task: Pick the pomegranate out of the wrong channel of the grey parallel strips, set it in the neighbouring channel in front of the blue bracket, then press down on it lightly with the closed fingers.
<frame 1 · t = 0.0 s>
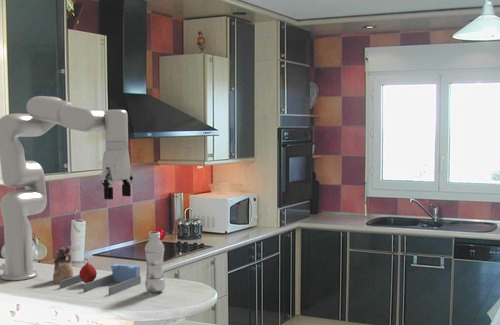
hand: (117, 197, 204), 31 cm above the counter, tool pointing down, fingers open, 9 cm apart
painted ceramic spouted vessel: (63, 281, 218), on the counter
grey parallel strips: (100, 285, 211), on the counter
plastic bottle: (155, 292, 202), on the counter
pomegranate: (88, 285, 212), on the counter
blue bracket: (126, 282, 215), on the counter
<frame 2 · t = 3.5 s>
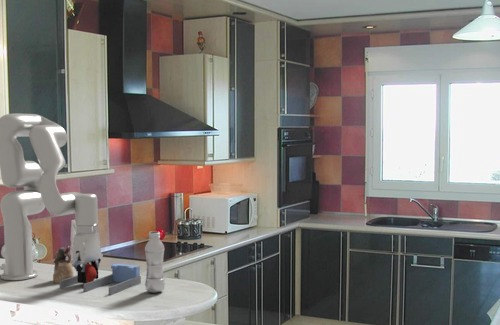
hand: (88, 280, 212), 2 cm above the counter, tool pointing down, fingers closed on pomegranate, 5 cm apart
pomegranate: (88, 285, 212), on the counter, touching gripper
everything else where it was.
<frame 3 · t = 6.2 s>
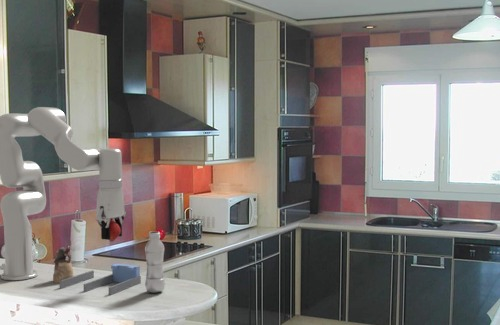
hand: (111, 237, 208), 17 cm above the counter, tool pointing down, fingers closed on pomegranate, 5 cm apart
pomegranate: (111, 242, 208), point 16 cm above the counter, touching gripper
everything else where it was.
when the fingers open (3 cm above the counter, at t = 9.3 s): pomegranate drops 1 cm, on the counter.
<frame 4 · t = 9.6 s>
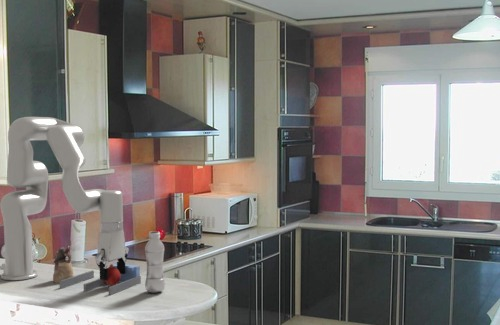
hand: (112, 276, 208), 4 cm above the counter, tool pointing down, fingers open, 9 cm apart
pomegranate: (112, 287, 209), on the counter
everything else where it was.
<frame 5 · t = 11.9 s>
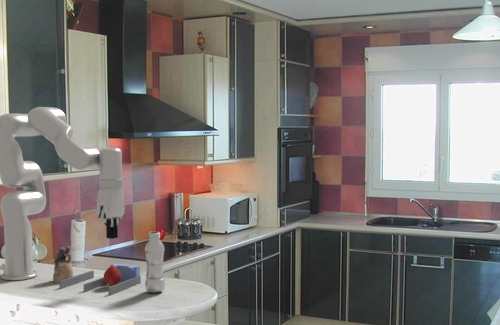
hand: (112, 237, 208), 17 cm above the counter, tool pointing down, fingers closed
nothing on the counter moved.
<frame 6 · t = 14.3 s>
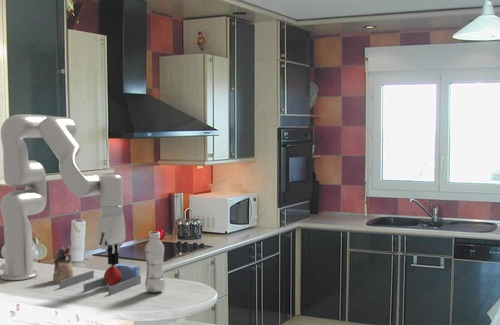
hand: (113, 264, 208), 8 cm above the counter, tool pointing down, fingers closed
pomegranate: (112, 287, 209), on the counter, touching gripper
everything else where it was.
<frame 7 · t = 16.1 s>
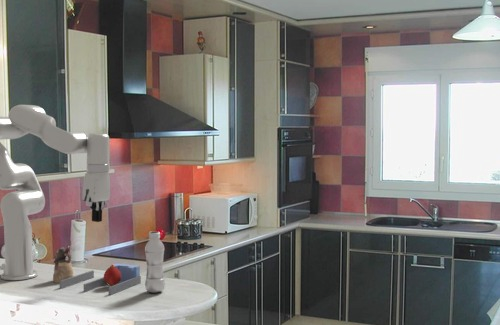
hand: (96, 221, 212), 22 cm above the counter, tool pointing down, fingers closed
pomegranate: (112, 287, 209), on the counter
everything else where it was.
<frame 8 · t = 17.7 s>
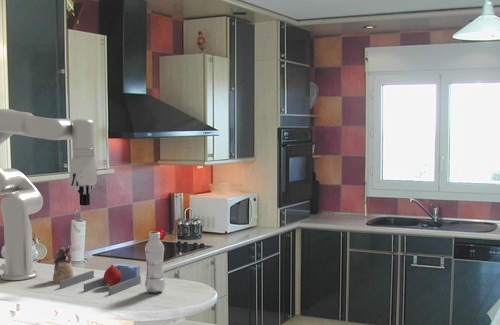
hand: (84, 205, 217), 27 cm above the counter, tool pointing down, fingers closed
nothing on the counter moved.
at the end: pomegranate inside the target area (0.9 cm from its centre), on the counter; pomegranate moved 10.1 cm from its start; the gripper is holding nothing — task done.
